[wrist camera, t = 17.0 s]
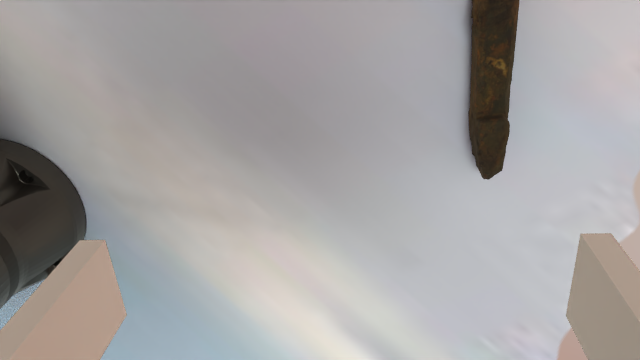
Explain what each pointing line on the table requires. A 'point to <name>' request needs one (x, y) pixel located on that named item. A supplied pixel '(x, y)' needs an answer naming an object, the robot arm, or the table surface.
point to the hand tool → (491, 81)
